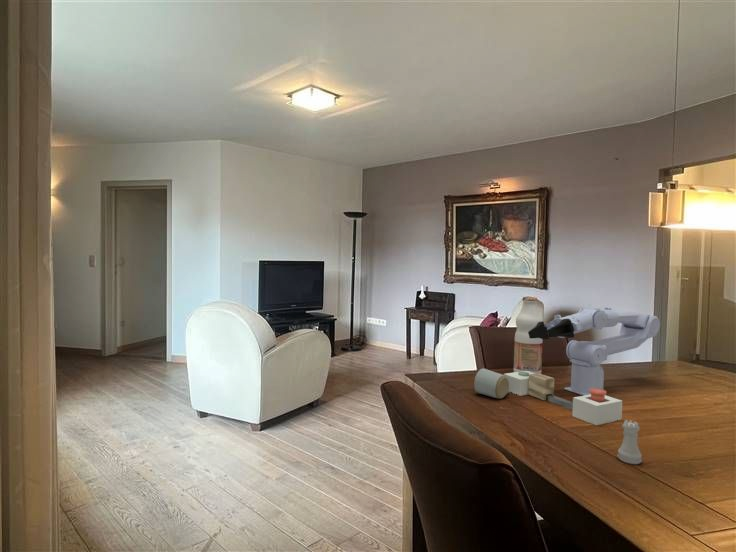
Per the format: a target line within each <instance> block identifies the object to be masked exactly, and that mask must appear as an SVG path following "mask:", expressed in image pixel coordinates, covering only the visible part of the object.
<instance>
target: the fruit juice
mask: <svg viewBox="0 0 736 552" xmlns="http://www.w3.org/2000/svg"><path fill="white" fill-rule="evenodd" d="M537 303H538V297H536V296H523V297H522V307H521V310H520V311H519V313H518V314H517V316H516V318H515V325H516V326H515V327H516V330H515V333H514V348H513V349H514V351H513V354H514V355H513V372H521V371H529V372H533V373H536V374H537V373H539V374H542V363H543V361H542V360H543V340H544V339H541V338H529V334H528V332H529V331H530V330H531V329H533V328H534V327H535V326H536V325H537V323H538V322H542V321H543V322H544V320H543V318H542V317H541V315H540V313H539V310H538V306H537Z"/></svg>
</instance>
